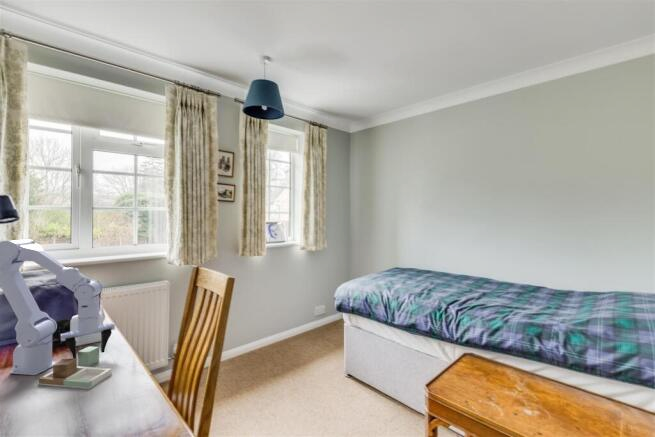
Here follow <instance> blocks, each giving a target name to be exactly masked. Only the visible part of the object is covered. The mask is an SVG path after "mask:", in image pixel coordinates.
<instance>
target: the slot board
mask: <svg viewBox="0 0 655 437" xmlns="http://www.w3.org/2000/svg"><path fill="white" fill-rule="evenodd" d="M112 372H113V370H112V368H106V367H94V366H93V367H92V366H89V367H86V366H78V365H77V372H76V373H75V374H73V375H71V376H69V377H67V378H53V371H51V372H49V373H46V374H45V375H43V376H40V377H38V385H39V386H50V387H51V386H52V387H61V388H62V387H63V388H74V389H85V390H87V389H88V390H89V389H91V388H92V387H94V386H96V385H97V384H98V383H101V382H102V381H104V380H105V379H107V378H108V377H110V376H112Z"/></svg>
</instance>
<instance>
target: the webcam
mask: <svg viewBox="0 0 655 437" xmlns="http://www.w3.org/2000/svg"><path fill="white" fill-rule="evenodd" d="M55 322H56V323H57V329H56V331H55V332H54V333H53V334H52V349H53V348H54V349H55V348H60V347H64V346H67V344H66V342H65V341H61V334H63V333H67V332H70V322H71V319H69V318H59V319H58V320H55Z"/></svg>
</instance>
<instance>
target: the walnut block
mask: <svg viewBox="0 0 655 437" xmlns="http://www.w3.org/2000/svg"><path fill="white" fill-rule="evenodd" d="M56 362H57V363H56V364H54V365H53V367H52V372H53V378H67V377H69V376H71V375H73V374H75V373H76V372H77V366H78V357H76V358H73V357H72V358H62V359H61V360H59V361H56Z"/></svg>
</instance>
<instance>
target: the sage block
mask: <svg viewBox="0 0 655 437" xmlns="http://www.w3.org/2000/svg"><path fill="white" fill-rule="evenodd" d="M99 361H100V347H99V346H91V345H90V346H87V347H85V348H83V349H80V350H78V352H77V366H82V367H92V365H94V364H96V363H98V362H99Z"/></svg>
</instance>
